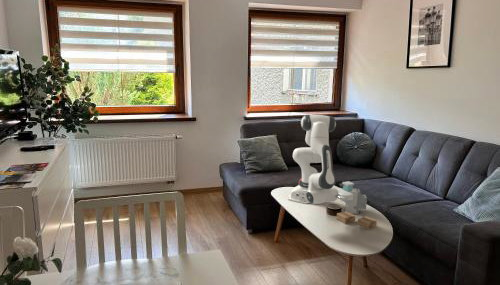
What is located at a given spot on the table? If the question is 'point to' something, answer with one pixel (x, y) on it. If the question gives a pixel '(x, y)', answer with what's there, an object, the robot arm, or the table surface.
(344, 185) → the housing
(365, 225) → the stand
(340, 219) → the stand
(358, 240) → the table surface
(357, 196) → the circuit breaker
